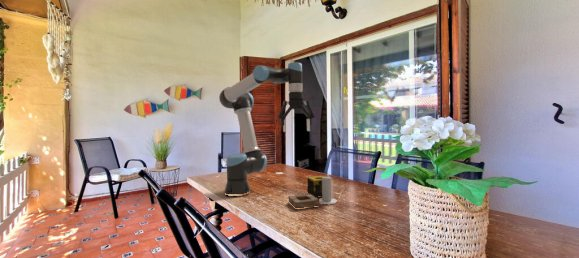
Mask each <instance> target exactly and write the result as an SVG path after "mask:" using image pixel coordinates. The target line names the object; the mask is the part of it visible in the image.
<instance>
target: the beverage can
mask: <svg viewBox="0 0 579 258" xmlns="http://www.w3.org/2000/svg"><path fill="white" fill-rule="evenodd" d="M332 186H333V185H332V177H331V176H324V177H322V197H321V198H322V200H323V201H325V202H329V201H331V200H332V198H333V196H332V195H333V194H332V193H333V192H332V191H333V190H332Z"/></svg>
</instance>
